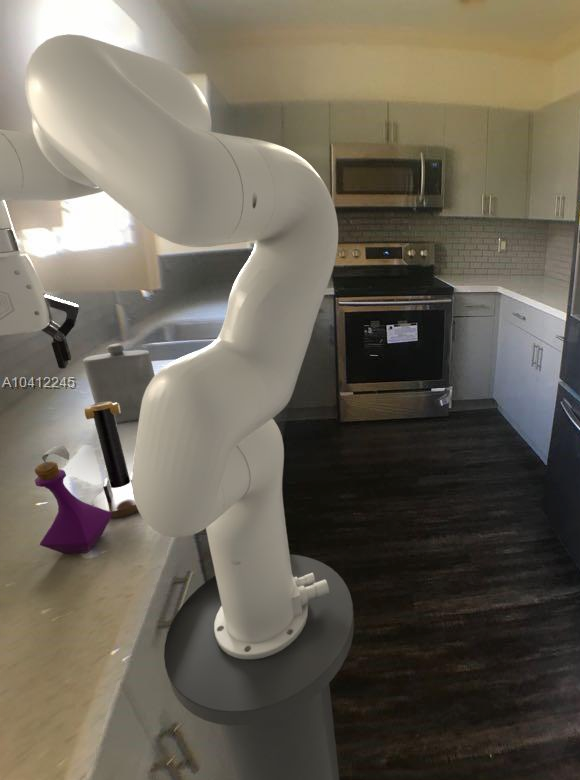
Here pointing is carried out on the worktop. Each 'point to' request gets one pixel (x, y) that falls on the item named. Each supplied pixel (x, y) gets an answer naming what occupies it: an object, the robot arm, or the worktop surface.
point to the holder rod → (110, 441)
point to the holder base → (116, 500)
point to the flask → (120, 379)
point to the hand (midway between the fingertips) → (23, 371)
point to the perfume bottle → (69, 511)
